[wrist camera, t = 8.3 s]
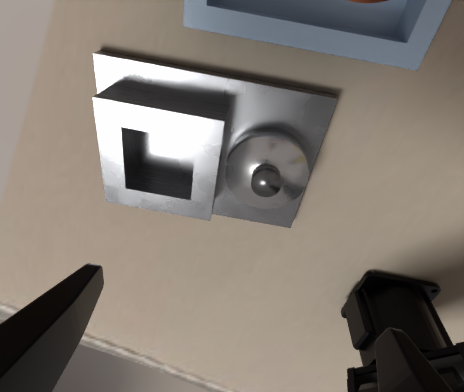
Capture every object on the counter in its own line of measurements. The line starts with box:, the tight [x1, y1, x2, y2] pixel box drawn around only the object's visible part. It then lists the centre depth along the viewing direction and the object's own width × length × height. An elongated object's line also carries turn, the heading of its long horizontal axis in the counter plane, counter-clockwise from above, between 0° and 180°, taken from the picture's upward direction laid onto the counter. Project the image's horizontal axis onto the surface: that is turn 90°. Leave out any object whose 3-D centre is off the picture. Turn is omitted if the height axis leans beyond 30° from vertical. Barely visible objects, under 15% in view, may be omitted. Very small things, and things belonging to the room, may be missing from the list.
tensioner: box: [93, 51, 338, 228], centre depth 19 cm, size 14×10×3 cm
